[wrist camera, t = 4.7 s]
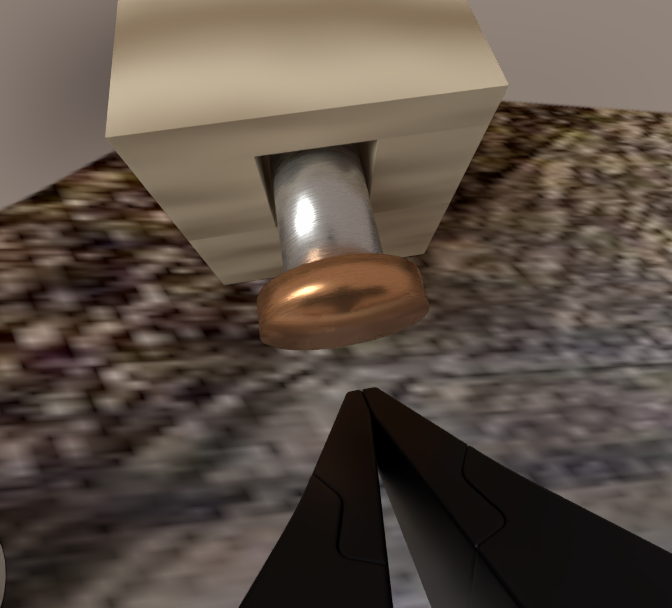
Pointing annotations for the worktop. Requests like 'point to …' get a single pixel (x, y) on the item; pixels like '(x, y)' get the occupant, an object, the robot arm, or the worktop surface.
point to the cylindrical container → (2, 575)
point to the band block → (297, 111)
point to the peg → (332, 258)
